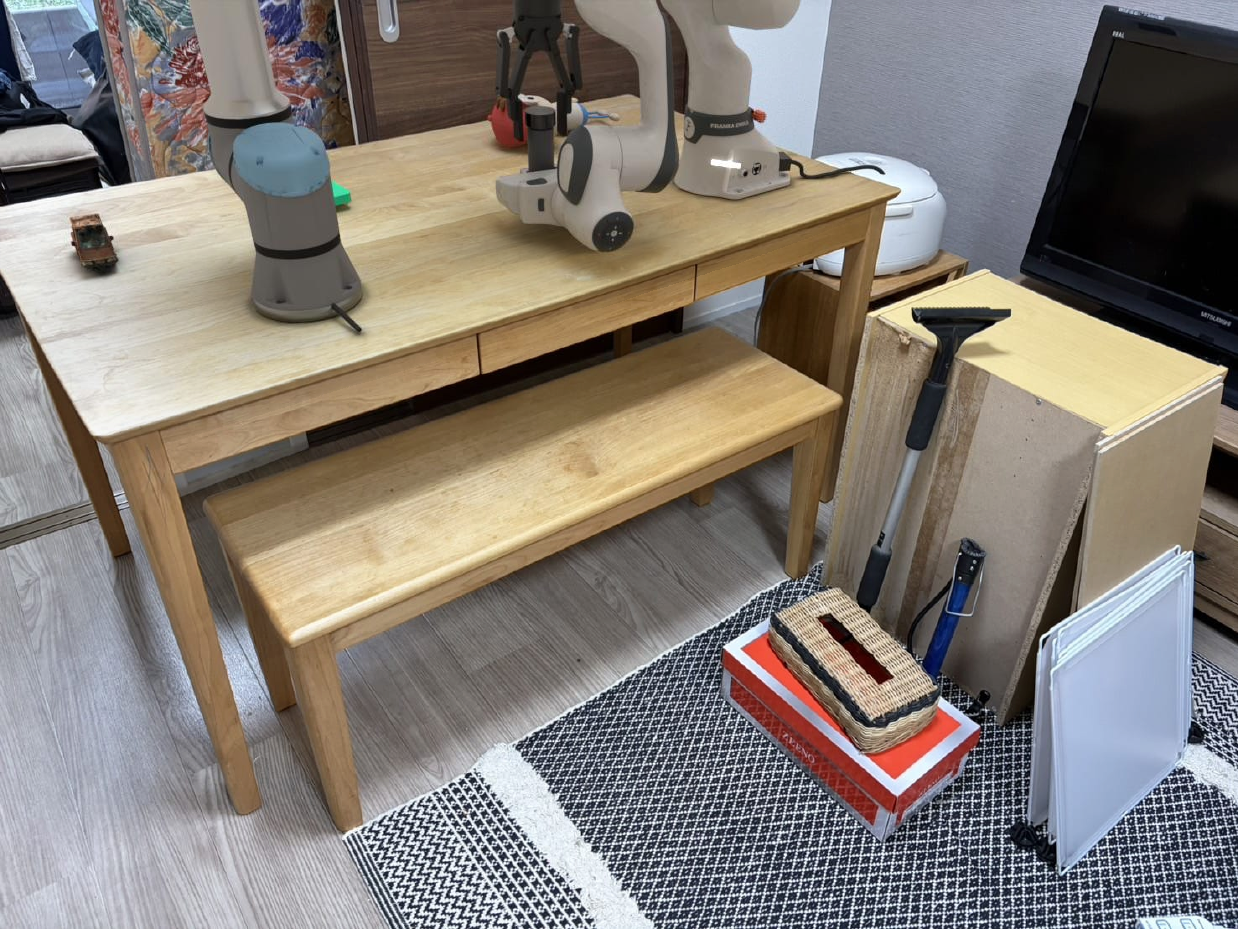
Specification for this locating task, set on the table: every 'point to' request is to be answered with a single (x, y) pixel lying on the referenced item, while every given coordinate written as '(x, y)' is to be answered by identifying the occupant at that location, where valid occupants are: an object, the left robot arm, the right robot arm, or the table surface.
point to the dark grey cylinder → (540, 149)
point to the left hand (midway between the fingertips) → (540, 136)
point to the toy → (505, 126)
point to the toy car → (92, 242)
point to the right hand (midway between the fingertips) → (539, 170)
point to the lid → (540, 117)
